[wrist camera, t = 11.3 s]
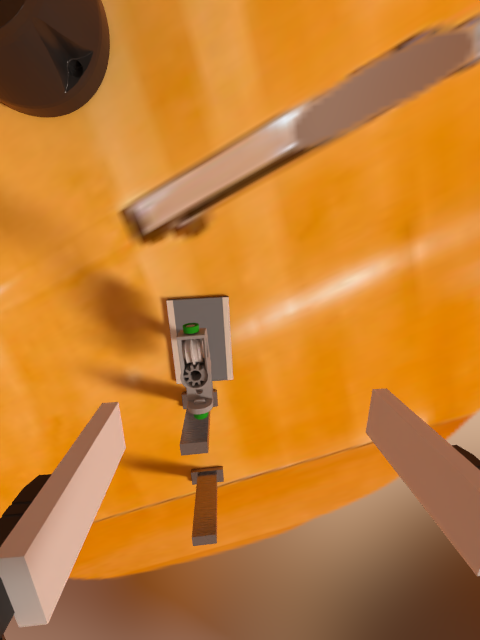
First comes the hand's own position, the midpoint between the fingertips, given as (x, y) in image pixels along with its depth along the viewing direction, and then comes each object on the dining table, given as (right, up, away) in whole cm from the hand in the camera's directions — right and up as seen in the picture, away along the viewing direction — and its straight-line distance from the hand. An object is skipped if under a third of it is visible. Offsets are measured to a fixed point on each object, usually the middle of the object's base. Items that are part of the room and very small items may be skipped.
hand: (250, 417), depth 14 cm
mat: (-6, +2, +23) cm, 24 cm away
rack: (-6, -13, +27) cm, 31 cm away
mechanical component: (-6, +2, +22) cm, 23 cm away
